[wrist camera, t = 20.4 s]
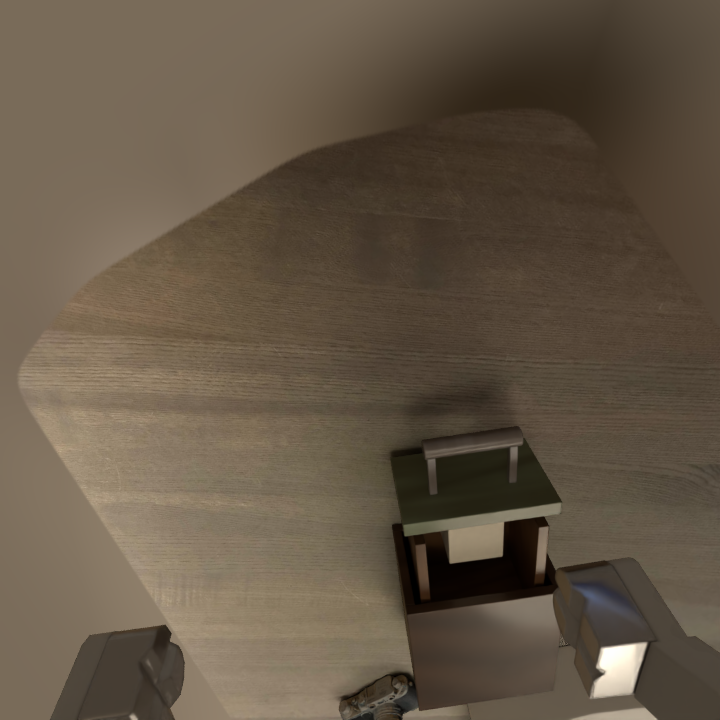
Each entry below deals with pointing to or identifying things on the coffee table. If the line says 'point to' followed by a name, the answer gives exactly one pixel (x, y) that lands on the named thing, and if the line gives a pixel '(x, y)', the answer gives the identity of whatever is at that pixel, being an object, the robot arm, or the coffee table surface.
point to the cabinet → (479, 640)
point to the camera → (382, 700)
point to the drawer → (475, 511)
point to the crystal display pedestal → (561, 701)
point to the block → (474, 542)
